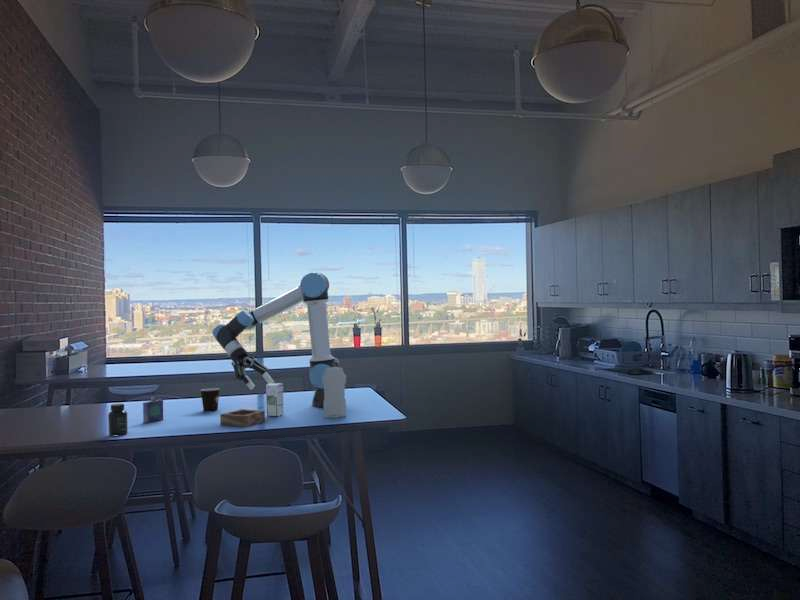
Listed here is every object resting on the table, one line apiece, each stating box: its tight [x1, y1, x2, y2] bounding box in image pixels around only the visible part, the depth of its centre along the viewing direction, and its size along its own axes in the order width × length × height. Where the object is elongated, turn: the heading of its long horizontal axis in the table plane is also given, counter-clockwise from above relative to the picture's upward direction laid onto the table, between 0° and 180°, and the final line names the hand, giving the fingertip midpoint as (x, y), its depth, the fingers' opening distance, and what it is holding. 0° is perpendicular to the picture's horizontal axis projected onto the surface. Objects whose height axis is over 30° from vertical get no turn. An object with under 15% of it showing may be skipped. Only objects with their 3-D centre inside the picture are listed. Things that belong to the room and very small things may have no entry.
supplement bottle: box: [107, 403, 129, 436], centre depth 250 cm, size 7×7×12 cm
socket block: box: [219, 408, 266, 428], centre depth 267 cm, size 13×13×4 cm
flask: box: [142, 396, 164, 424], centre depth 275 cm, size 9×3×11 cm, turn 142°
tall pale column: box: [322, 367, 347, 419], centre depth 277 cm, size 11×4×22 cm, turn 102°
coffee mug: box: [200, 387, 220, 412], centre depth 300 cm, size 12×9×10 cm
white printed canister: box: [265, 382, 285, 417], centre depth 283 cm, size 6×6×14 cm
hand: (262, 386), depth 285 cm, fingers open, 13 cm apart
